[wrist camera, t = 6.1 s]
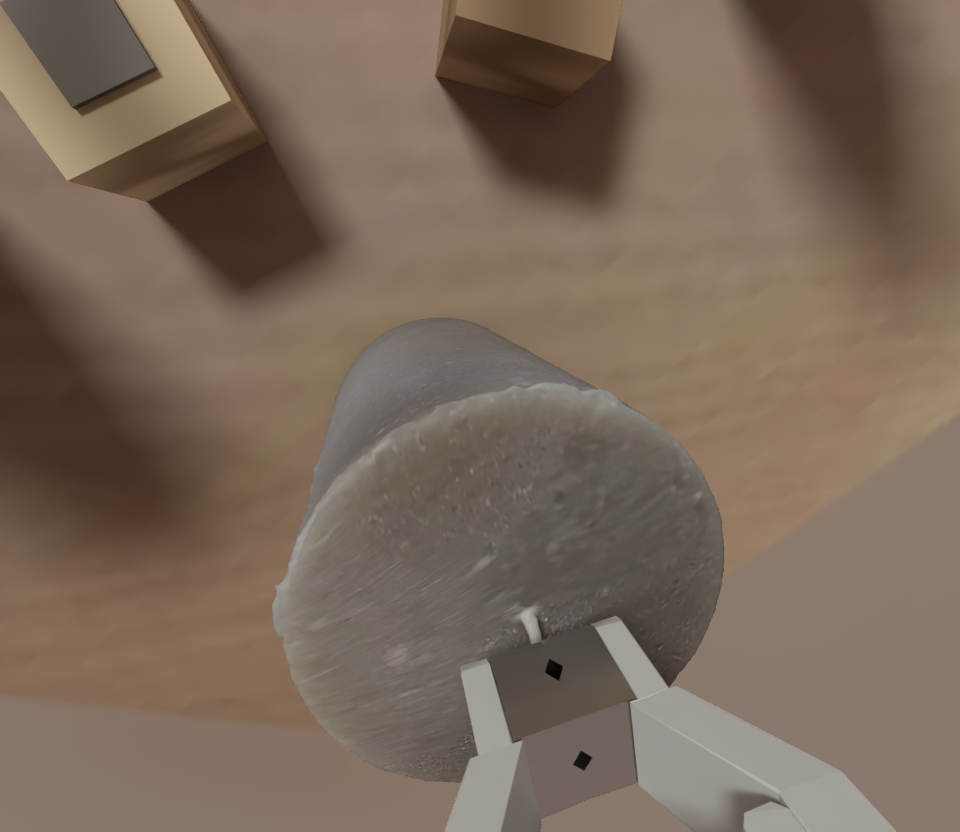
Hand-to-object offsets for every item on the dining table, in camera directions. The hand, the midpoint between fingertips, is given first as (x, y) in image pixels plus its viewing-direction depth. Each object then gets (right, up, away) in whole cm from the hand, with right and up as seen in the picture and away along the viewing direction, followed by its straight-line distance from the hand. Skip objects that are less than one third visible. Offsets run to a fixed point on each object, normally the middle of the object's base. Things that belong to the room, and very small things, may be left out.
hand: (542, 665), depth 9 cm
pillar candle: (-3, +5, +14) cm, 15 cm away
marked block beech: (-12, +16, +8) cm, 22 cm away
